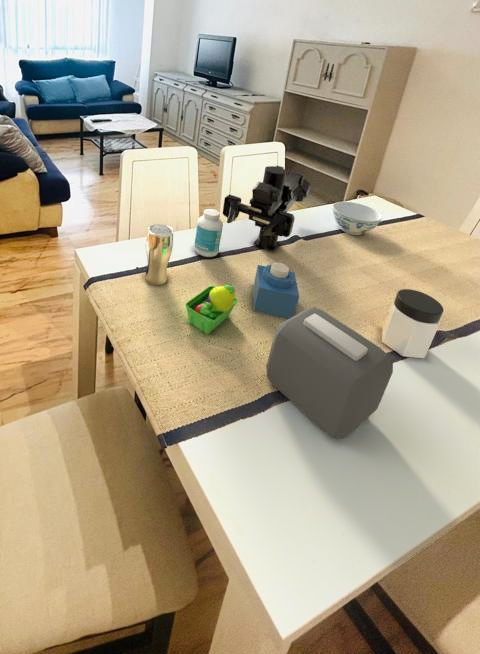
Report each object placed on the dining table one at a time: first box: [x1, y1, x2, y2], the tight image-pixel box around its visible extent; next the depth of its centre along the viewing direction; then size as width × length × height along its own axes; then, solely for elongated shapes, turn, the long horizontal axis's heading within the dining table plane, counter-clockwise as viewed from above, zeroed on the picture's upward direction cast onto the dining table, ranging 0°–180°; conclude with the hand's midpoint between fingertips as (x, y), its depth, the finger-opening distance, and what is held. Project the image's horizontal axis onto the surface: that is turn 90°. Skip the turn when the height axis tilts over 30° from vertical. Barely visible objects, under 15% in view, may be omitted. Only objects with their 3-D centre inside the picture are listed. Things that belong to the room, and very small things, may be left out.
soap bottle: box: [252, 264, 300, 320], centre depth 96 cm, size 10×9×9 cm
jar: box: [381, 288, 444, 359], centre depth 84 cm, size 9×8×12 cm
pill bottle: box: [193, 208, 224, 258], centre depth 116 cm, size 8×7×14 cm
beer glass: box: [144, 223, 174, 286], centre depth 102 cm, size 7×7×15 cm
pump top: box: [270, 262, 290, 279], centre depth 94 cm, size 4×4×2 cm
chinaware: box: [332, 201, 383, 236], centre depth 135 cm, size 15×15×8 cm
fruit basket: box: [185, 284, 238, 335], centre depth 88 cm, size 11×9×11 cm
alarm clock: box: [265, 306, 394, 439], centre depth 69 cm, size 16×11×16 cm
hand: (244, 227), depth 99 cm, fingers open, 9 cm apart
